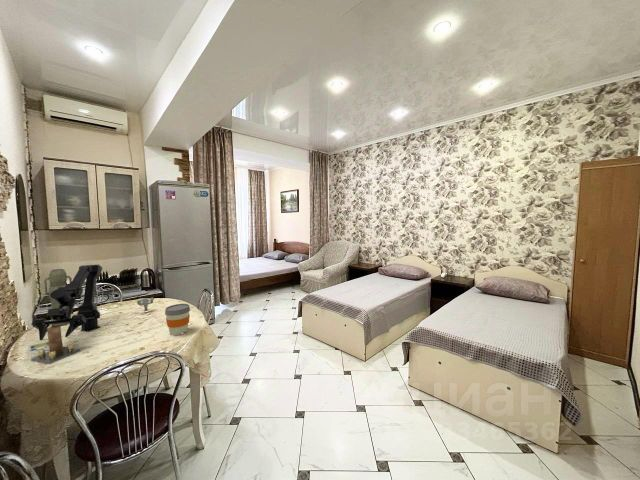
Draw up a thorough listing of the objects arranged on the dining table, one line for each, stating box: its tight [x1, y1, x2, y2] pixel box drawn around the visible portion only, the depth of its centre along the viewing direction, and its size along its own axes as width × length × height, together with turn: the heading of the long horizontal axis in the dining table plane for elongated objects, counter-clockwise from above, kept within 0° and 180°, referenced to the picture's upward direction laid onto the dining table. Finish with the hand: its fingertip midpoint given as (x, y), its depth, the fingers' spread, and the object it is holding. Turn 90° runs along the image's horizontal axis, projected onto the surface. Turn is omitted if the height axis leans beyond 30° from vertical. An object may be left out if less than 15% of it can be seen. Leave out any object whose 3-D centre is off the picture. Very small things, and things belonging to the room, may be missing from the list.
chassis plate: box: [30, 342, 81, 365], centre depth 121 cm, size 12×12×4 cm
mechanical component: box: [136, 297, 155, 312], centre depth 178 cm, size 3×10×10 cm, turn 148°
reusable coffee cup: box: [164, 303, 191, 336], centre depth 146 cm, size 13×13×15 cm
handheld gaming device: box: [26, 340, 50, 356], centre depth 129 cm, size 9×1×15 cm
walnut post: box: [46, 325, 64, 355], centre depth 120 cm, size 4×4×13 cm
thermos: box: [43, 268, 73, 327], centre depth 159 cm, size 9×12×35 cm
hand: (53, 338), depth 119 cm, fingers open, 9 cm apart
